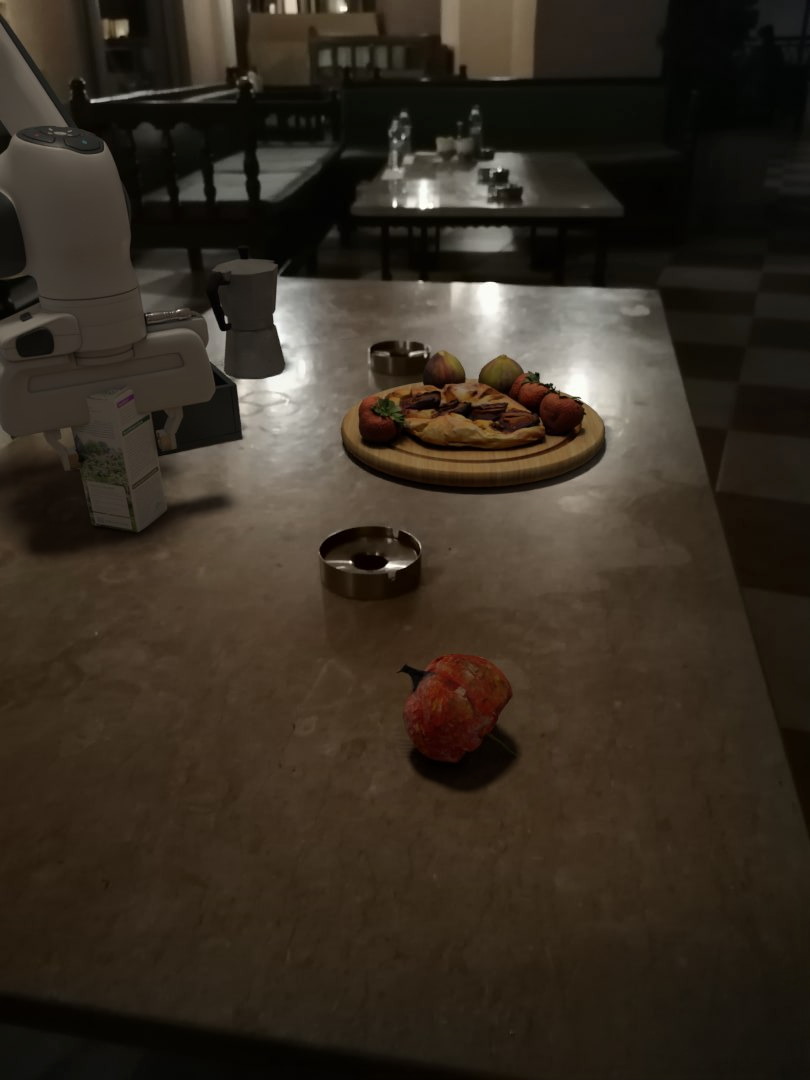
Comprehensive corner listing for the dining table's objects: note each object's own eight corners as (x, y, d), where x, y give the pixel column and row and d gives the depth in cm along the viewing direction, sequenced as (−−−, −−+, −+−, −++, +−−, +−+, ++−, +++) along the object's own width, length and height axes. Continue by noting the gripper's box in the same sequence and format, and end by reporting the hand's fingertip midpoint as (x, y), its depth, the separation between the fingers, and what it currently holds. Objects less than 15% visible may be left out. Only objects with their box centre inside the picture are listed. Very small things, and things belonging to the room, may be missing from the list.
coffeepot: (254, 353, 143) (243, 234, 134) (305, 361, 139) (297, 239, 130) (192, 383, 131) (175, 254, 122) (246, 392, 127) (233, 260, 118)
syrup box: (169, 509, 95) (148, 376, 88) (137, 535, 90) (112, 396, 83) (123, 502, 97) (98, 371, 90) (89, 527, 92) (60, 390, 85)
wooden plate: (369, 509, 95) (366, 435, 91) (323, 405, 122) (319, 345, 118) (651, 475, 101) (660, 405, 97) (547, 383, 128) (550, 326, 124)
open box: (140, 459, 107) (131, 403, 103) (117, 425, 117) (107, 372, 113) (242, 438, 112) (236, 384, 109) (211, 407, 122) (205, 356, 118)
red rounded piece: (505, 739, 66) (403, 649, 66) (567, 699, 61) (457, 601, 61) (465, 815, 61) (354, 718, 61) (529, 778, 56) (408, 671, 56)
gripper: (195, 297, 90) (212, 427, 97) (-26, 328, 82) (10, 468, 89) (214, 311, 85) (231, 447, 92) (-18, 345, 77) (19, 492, 84)
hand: (121, 458), depth 90 cm, fingers open, 8 cm apart
